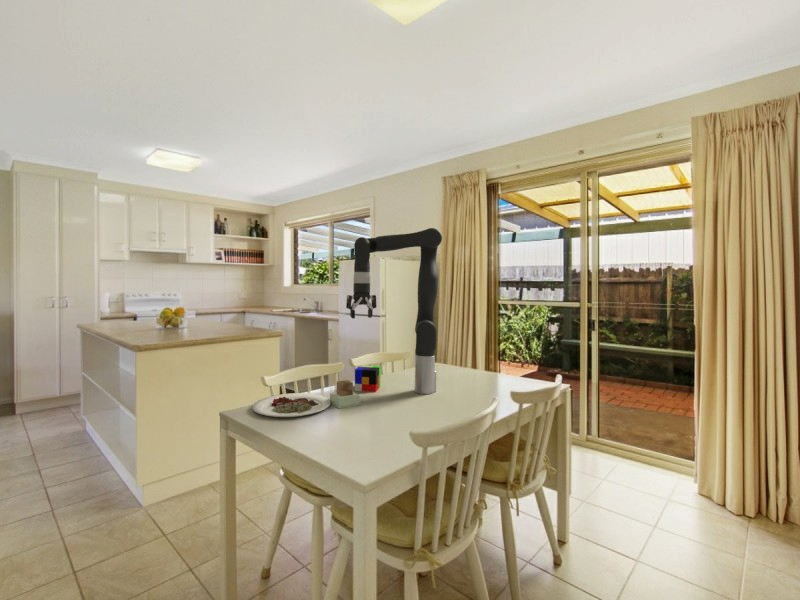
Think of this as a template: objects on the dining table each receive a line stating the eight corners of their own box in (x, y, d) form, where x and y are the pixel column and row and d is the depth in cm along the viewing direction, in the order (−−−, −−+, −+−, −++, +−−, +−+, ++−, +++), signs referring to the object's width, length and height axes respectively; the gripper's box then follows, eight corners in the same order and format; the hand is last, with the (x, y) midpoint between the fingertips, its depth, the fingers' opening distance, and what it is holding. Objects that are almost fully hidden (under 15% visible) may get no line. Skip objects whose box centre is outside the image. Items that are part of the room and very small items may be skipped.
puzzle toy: (354, 390, 189) (354, 369, 189) (360, 385, 199) (360, 365, 199) (375, 392, 188) (376, 370, 187) (380, 386, 198) (380, 366, 197)
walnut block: (347, 391, 173) (347, 380, 172) (352, 394, 168) (352, 382, 168) (336, 393, 170) (336, 381, 170) (341, 396, 166) (341, 384, 165)
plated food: (312, 424, 145) (312, 414, 145) (236, 417, 151) (236, 408, 151) (340, 400, 175) (340, 392, 175) (276, 395, 181) (276, 387, 181)
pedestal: (349, 398, 176) (349, 389, 176) (360, 404, 168) (360, 395, 168) (328, 402, 171) (328, 392, 170) (338, 408, 162) (338, 398, 162)
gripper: (371, 282, 192) (371, 316, 192) (343, 282, 184) (343, 317, 184) (379, 282, 185) (379, 318, 186) (351, 282, 177) (351, 319, 178)
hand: (361, 318), depth 185 cm, fingers open, 8 cm apart
